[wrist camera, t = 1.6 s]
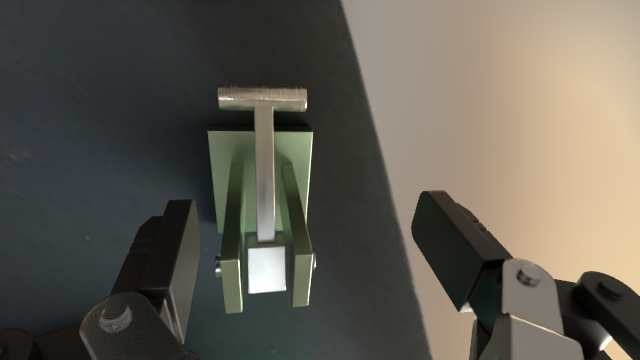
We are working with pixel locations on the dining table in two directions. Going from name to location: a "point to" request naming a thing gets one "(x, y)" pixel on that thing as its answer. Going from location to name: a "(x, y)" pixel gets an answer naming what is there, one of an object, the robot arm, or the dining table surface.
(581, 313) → the robot arm
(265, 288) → the switch lever
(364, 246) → the dining table surface
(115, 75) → the dining table surface
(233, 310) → the switch bracket
